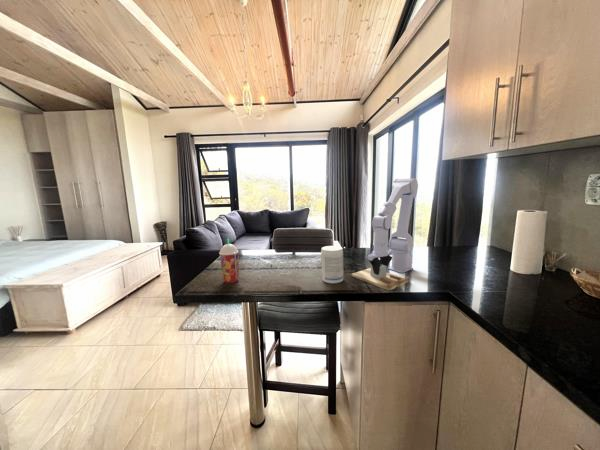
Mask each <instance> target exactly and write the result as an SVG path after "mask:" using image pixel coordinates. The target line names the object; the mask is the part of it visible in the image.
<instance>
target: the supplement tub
mask: <svg viewBox="0 0 600 450" xmlns="http://www.w3.org/2000/svg"><path fill="white" fill-rule="evenodd" d="M343 249H344V248H343V247H342V246H338V245H325V246H322V247H321V249H320V252H321V253H320V258H321V263H320V264H321V280H322V281H323V282H325V283H328V284H339V283H342V281H343V280H344V251H343Z"/></svg>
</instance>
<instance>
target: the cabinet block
mask: <svg viewBox="0 0 600 450" xmlns="http://www.w3.org/2000/svg"><path fill="white" fill-rule="evenodd" d="M370 268H371V276H373V277H375V278H378V279H380V278H384V277H386V273H388V272H387V271H388V268H387V266H385V265H382V264H381V265H380V271H379V275H376V274H374V271H373V268H372V265H371V264H370Z"/></svg>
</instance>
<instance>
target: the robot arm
mask: <svg viewBox="0 0 600 450" xmlns="http://www.w3.org/2000/svg"><path fill="white" fill-rule="evenodd" d="M391 184H392V185H391V188H392V191H391V193H390V196H389V197H388V200H387V201H385V202H383V205H382V206H381V208H380V210H379V212H378V213H377V215H374V216H373V217H372V220H371V227H372V231H373V233H374V234H373V235H374V236H373V238H374V239H373V250H372V251H371V253H370V254H368V255H367V260H368V261H369V262H370V266H371V265H372V268H373V271H374V274H376V275H379V271H380V265H381V264H382V265H385V266H387V270H391V271H394V272H398V273H400V274H403V273H406V272H409V271H411V270H414V268H413V267H412V263H413V256H412V255H413V254H412V253H411V252H412V251H413V247H414V242H413V241H414V239H413V238H414V237H412V235H411V234H410V233H408V231H409V226H410V220H411V213H412V208H413V207H412V206H413V202H414V201H413V200H414V198H416V197H417V193H418V188H419V182H418V180H417V179H416V178H415V177H412V178H395V179H394V180H393V181H392V183H391ZM399 201H401V202H400V208H399V214H398V220H397V226H396V231H395V232H393V233H392V234H391V235H390V238H389V229H390V228H391V227H392V221H393V217H394V214H395V212H396V210H397V204H398V202H399ZM390 263H391V266H389V265H390Z"/></svg>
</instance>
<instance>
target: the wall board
mask: <svg viewBox="0 0 600 450" xmlns="http://www.w3.org/2000/svg"><path fill="white" fill-rule="evenodd" d="M351 277H353V278H355V279H358V280H360V281H363V282H365V283H368V284H371V285H373V286H375V287H378V288H380V289H383V290H386V291H387V292H389V290H390V291H392V290H394V289H396V287H397V288H399V287H402V286H404V285H406V283H407V284H409V283H410V278H411V277H410V276H406V277H403V276H399V275H397V274H392V273H390V272H387V273H386V277H384V278H380V279H378V278H375V277H373V276H371V267H369V268H366V269H363V270H360V271H357V272H356V271H355V272H353V273H351ZM401 285H402V286H401Z"/></svg>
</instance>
